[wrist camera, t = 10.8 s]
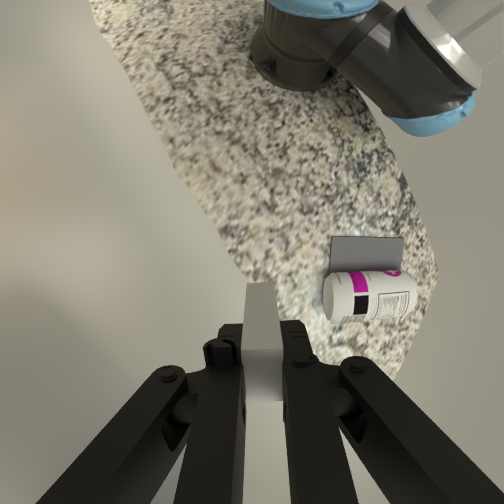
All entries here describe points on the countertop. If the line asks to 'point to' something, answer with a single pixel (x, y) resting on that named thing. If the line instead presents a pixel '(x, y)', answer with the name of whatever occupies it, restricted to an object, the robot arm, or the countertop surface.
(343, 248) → the mat
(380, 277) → the supplement can
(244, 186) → the countertop surface
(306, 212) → the countertop surface
